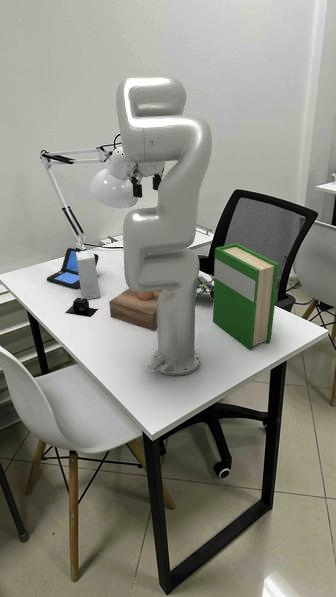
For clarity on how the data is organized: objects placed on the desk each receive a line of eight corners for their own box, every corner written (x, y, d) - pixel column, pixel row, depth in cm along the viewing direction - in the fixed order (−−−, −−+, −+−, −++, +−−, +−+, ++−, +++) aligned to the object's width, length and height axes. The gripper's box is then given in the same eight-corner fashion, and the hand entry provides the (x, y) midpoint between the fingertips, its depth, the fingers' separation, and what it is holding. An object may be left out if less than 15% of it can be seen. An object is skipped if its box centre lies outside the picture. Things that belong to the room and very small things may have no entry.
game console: (45, 281, 159) (41, 259, 155) (71, 268, 169) (68, 246, 165) (77, 291, 152) (73, 267, 148) (101, 276, 162) (99, 254, 158)
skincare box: (100, 298, 146) (96, 257, 139) (82, 300, 145) (77, 259, 138) (97, 287, 153) (93, 248, 146) (80, 290, 152) (75, 250, 145)
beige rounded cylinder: (150, 301, 132) (150, 286, 129) (134, 298, 133) (134, 282, 130) (156, 293, 136) (156, 278, 133) (140, 290, 137) (141, 275, 134)
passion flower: (211, 313, 147) (230, 294, 138) (185, 317, 141) (203, 297, 132) (198, 285, 151) (215, 265, 142) (172, 288, 145) (189, 267, 136)
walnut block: (153, 332, 127) (152, 314, 125) (110, 318, 135) (109, 301, 132) (180, 309, 139) (180, 292, 137) (140, 297, 147) (139, 281, 144)
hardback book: (270, 342, 121) (279, 263, 109) (249, 350, 117) (256, 270, 106) (232, 315, 134) (236, 243, 123) (212, 322, 131) (215, 248, 120)
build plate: (104, 310, 140) (102, 297, 138) (93, 321, 134) (92, 308, 132) (70, 304, 144) (68, 292, 142) (58, 315, 138) (56, 302, 135)
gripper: (136, 139, 117) (139, 201, 125) (173, 132, 129) (173, 189, 137) (115, 137, 121) (120, 198, 129) (153, 130, 133) (155, 186, 141)
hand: (147, 193), depth 133 cm, fingers open, 9 cm apart
